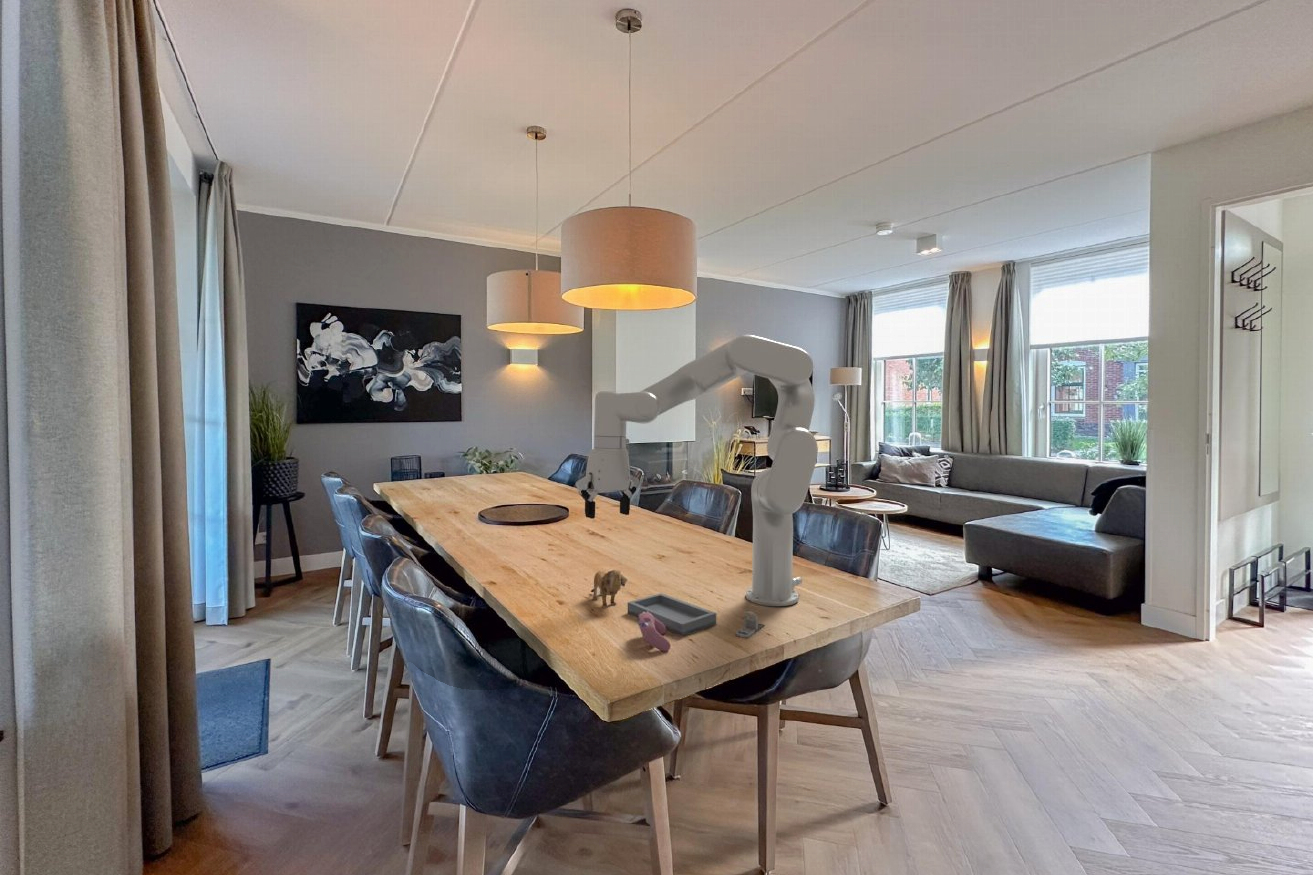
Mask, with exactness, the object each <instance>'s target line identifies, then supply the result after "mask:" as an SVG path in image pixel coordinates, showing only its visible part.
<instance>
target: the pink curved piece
mask: <svg viewBox="0 0 1313 875" xmlns="http://www.w3.org/2000/svg"><path fill="white" fill-rule="evenodd" d="M638 617H639V618H638ZM638 617H637V618H638V621H637V626H638V627H639V629H640V632H641V636H642V638H643V639H644V640H645V643H646V644H647V645H649V647H654V648H655V649H657V650H659V651H661V652H668V651H669V650H670V649H671V643H670V641H669V640H668V639H667V638H666V637H665V636H663V635H664V634H665V633H667V630H666V627H665V626H664V624H663V623H661V622H660V621H659V620H657V619H656V618H655V617H654V616H653V615H652V614H651V613H648V611H647V612H646V613H645V612H643V613H641V614H639V615H638Z"/></svg>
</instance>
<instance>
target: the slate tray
mask: <svg viewBox="0 0 1313 875" xmlns="http://www.w3.org/2000/svg"><path fill="white" fill-rule="evenodd" d="M647 611H648V613H651V614H652V615H653V616H654V617H655V618H656V619H657V620H659V621H660V622H661V623H663V624H664V626H665V627H666V631H668V632H670V633H674V634H676V635H678V636H681V637H685V636H687V635H690V634H694V633H697V632H699V631H702V630H705V629H708V628H711V627H714V626H716V625H717V612H714V611H711V610H708V609H706V608H703V607H701V606H697V605H694V604H692V603H688V602H687V601H685V600H684V601H683V600H681V599H679V598H675V597H673V596H670V595H667V594H665V593H657V594H651V595H649V596H644V597H642V598H639V599H635V600H630V601H627V614H628V615H631V616H634V617H636V618H638V619H639V617H638V615H639V614H641V613H643V612H645V613H646V612H647Z"/></svg>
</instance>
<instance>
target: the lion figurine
mask: <svg viewBox="0 0 1313 875" xmlns="http://www.w3.org/2000/svg"><path fill="white" fill-rule="evenodd" d="M627 582H628V578H626V577H625V576H624V575H623V574H621V570H620V569H613V570H610V571H608V572H605V571H603V570H599V571H596V573H595V575H594V578H593V589H591V590H590V592H591V593H593V596H592V600H593V601H596V600H598V589H599V595H600V596H601V601H602V604H601V608H603V609H606V608H608V602H607V596H610V600H609V601H610V602H609V603H610V605H611V606H617V604H618V603H617V602H615V598H616V595H617V593H618V592H619V591H620V590H621V588H622V587H626V584H627Z"/></svg>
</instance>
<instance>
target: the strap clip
mask: <svg viewBox="0 0 1313 875" xmlns="http://www.w3.org/2000/svg"><path fill="white" fill-rule="evenodd" d="M747 615H750V616H754V618H752V617H748V616H747ZM743 621H744V623H743V624H744V627H741V628H740V629H738V630H737V631H736V633H735V636H736V635H737V636H736V637H738V636H740V637H739V638H742V637H745V638H744V639H749V637H750V636H751V637H753V636H754V635H755V634H756V632H759V631H761V630H762V628H763V629H764V628H765V627H764V626H765V624H763V623H759V618H758V614H757V613H756V612H753V611H745V612H744V615H743ZM760 625H763V626H760ZM754 633H755V634H754ZM753 634H754V635H753ZM752 635H753V636H752ZM751 637H750V638H751Z"/></svg>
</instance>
